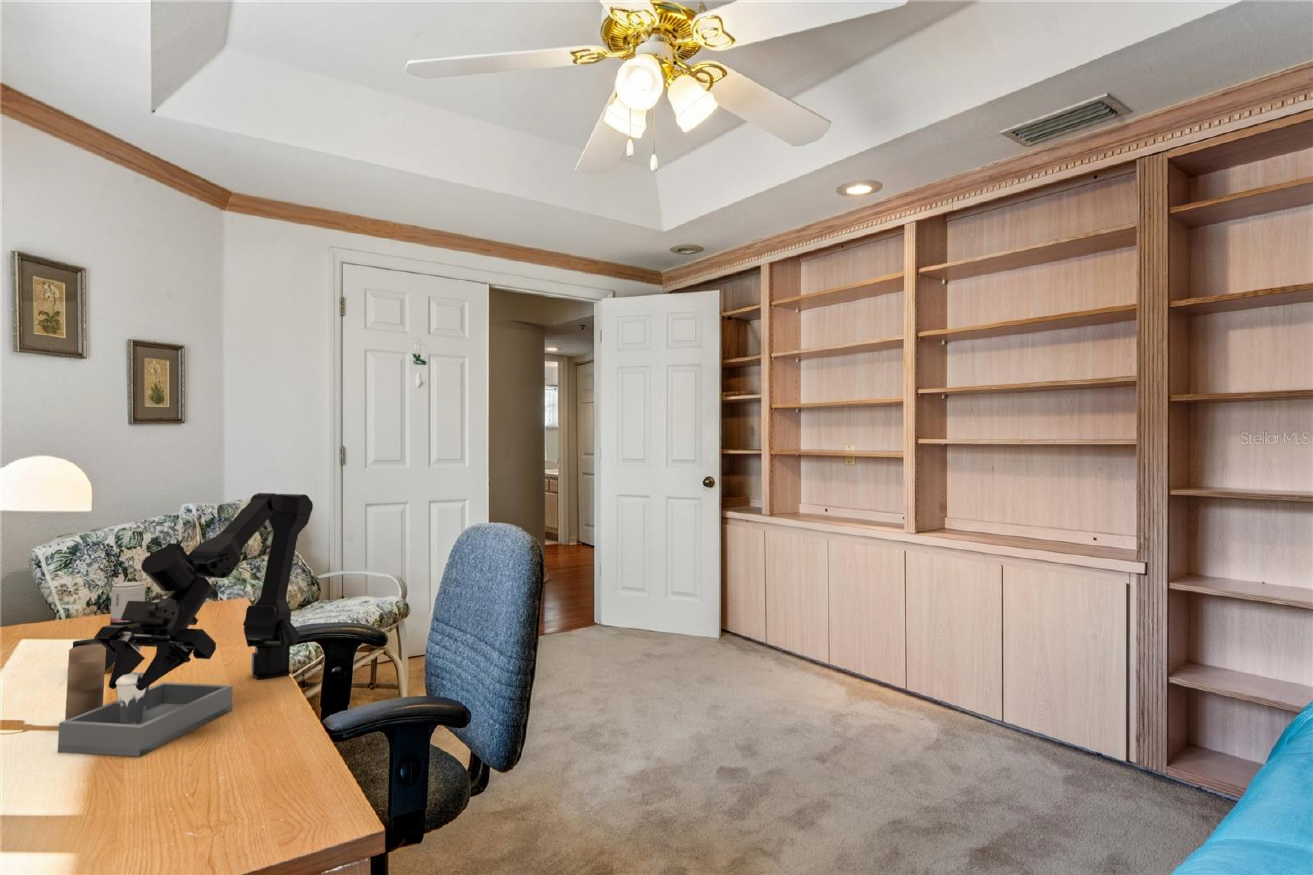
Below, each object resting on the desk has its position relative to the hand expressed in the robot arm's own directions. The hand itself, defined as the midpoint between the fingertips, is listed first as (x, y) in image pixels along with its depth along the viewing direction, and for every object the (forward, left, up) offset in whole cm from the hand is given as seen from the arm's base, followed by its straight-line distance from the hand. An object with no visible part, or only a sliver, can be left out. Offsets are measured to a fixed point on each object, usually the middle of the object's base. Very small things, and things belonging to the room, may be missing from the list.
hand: (124, 688), depth 110 cm
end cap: (+4, -51, -9) cm, 52 cm away
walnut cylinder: (+5, -15, -9) cm, 18 cm away
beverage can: (-2, -73, -9) cm, 74 cm away
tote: (-4, -4, -9) cm, 11 cm away
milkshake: (-1, -1, -7) cm, 7 cm away
